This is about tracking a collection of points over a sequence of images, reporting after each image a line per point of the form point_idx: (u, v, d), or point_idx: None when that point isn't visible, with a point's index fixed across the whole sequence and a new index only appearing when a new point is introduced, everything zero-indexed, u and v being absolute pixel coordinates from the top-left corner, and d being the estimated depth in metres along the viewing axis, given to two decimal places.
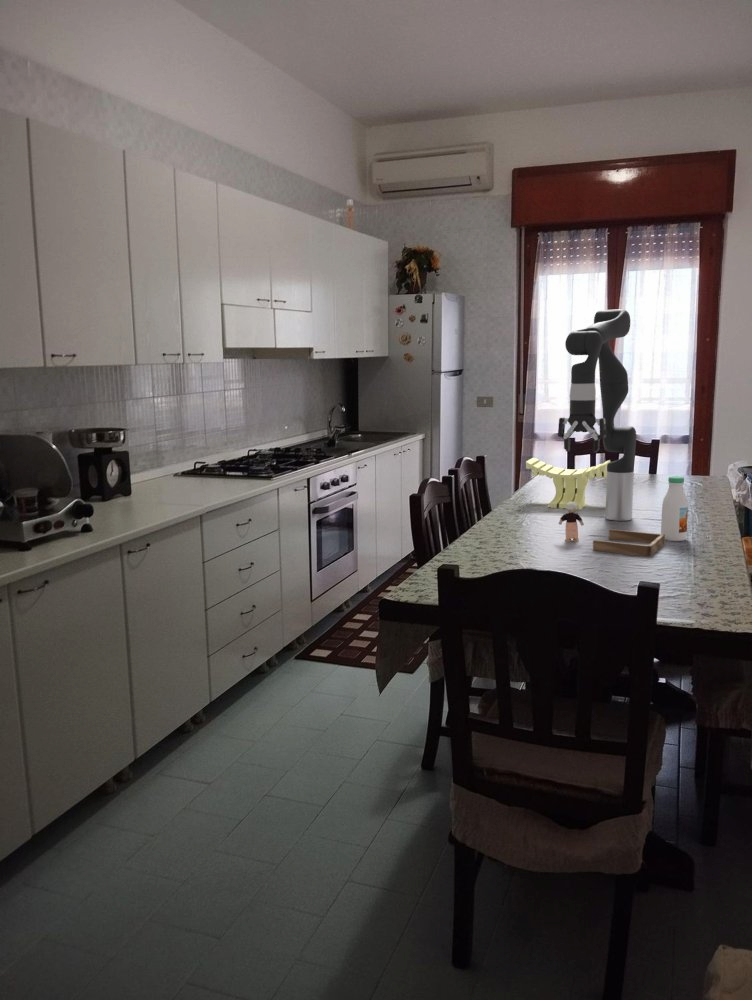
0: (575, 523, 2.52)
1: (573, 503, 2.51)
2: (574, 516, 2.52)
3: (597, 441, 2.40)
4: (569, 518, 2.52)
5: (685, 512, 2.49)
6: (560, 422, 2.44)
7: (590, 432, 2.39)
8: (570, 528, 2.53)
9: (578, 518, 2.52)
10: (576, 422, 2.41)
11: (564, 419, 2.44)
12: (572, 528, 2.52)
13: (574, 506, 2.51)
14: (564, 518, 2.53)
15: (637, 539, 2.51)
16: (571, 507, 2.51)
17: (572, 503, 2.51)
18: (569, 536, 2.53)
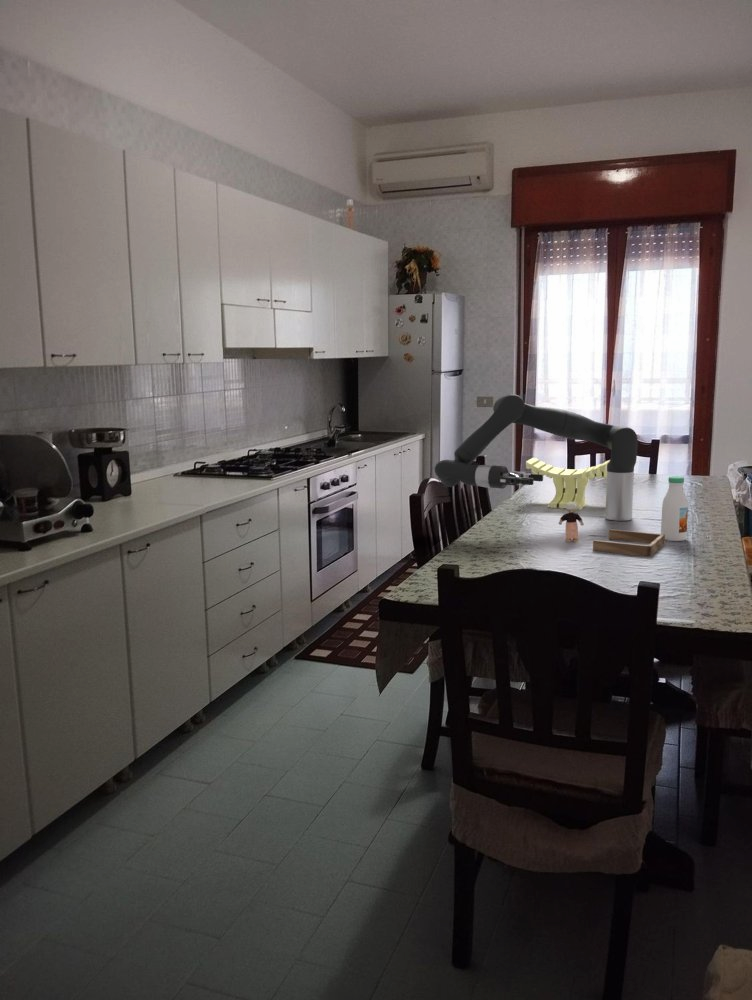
0: (575, 523, 2.52)
1: (573, 503, 2.51)
2: (574, 516, 2.52)
3: None
4: (569, 518, 2.52)
5: (685, 512, 2.49)
6: None
7: None
8: (570, 528, 2.53)
9: (578, 518, 2.52)
10: None
11: None
12: (572, 528, 2.52)
13: (574, 506, 2.51)
14: (564, 518, 2.53)
15: (637, 539, 2.51)
16: (571, 507, 2.51)
17: (572, 503, 2.51)
18: (569, 536, 2.53)
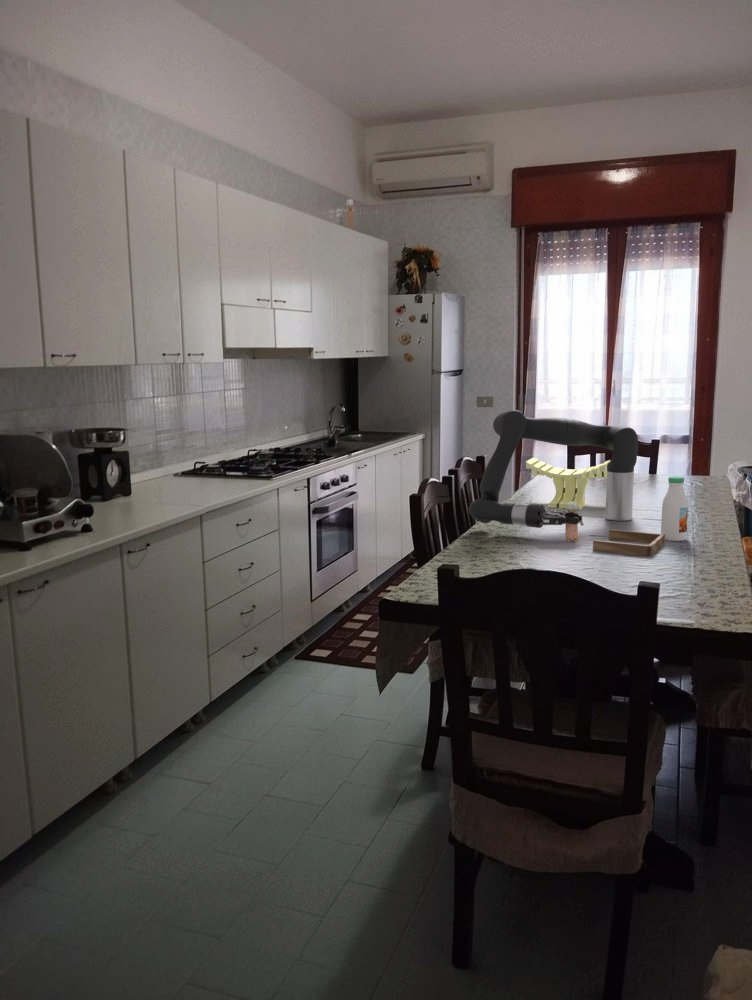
0: None
1: (573, 503, 2.51)
2: (574, 516, 2.52)
3: None
4: None
5: (685, 512, 2.49)
6: None
7: None
8: (569, 528, 2.53)
9: None
10: None
11: None
12: (572, 528, 2.52)
13: (574, 506, 2.51)
14: None
15: (637, 539, 2.51)
16: (570, 507, 2.51)
17: (572, 503, 2.51)
18: (569, 536, 2.53)
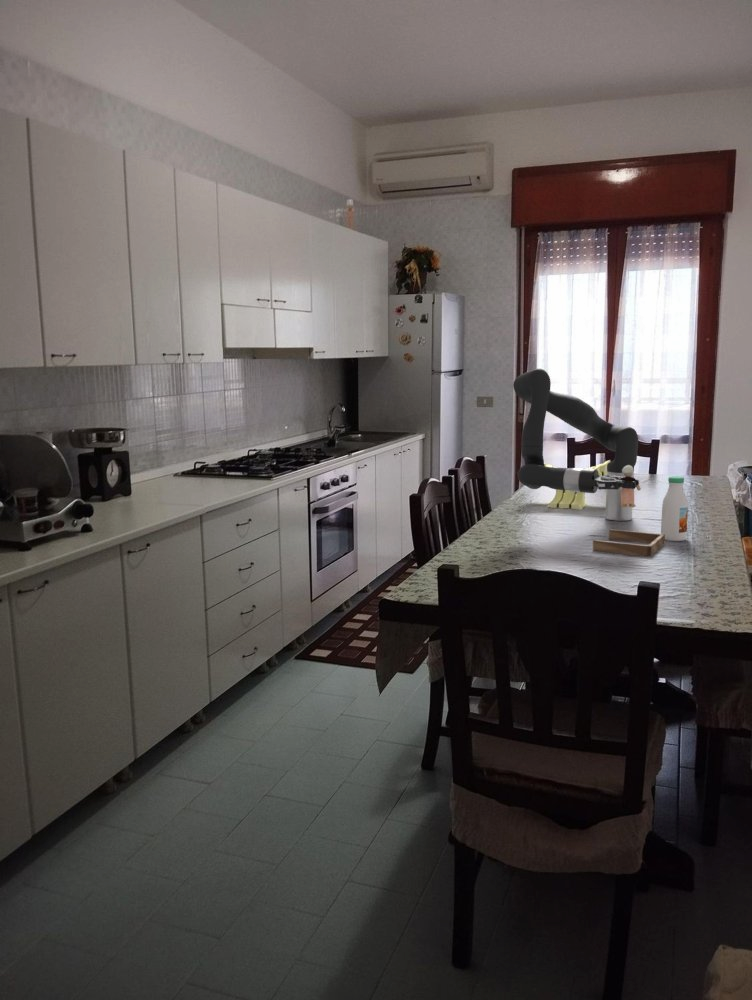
0: None
1: (630, 467, 2.40)
2: (630, 480, 2.40)
3: (623, 486, 2.40)
4: None
5: (685, 512, 2.49)
6: None
7: None
8: (625, 493, 2.41)
9: None
10: None
11: None
12: (628, 493, 2.41)
13: (631, 469, 2.39)
14: None
15: (637, 539, 2.51)
16: (627, 471, 2.39)
17: (629, 466, 2.40)
18: (624, 501, 2.42)
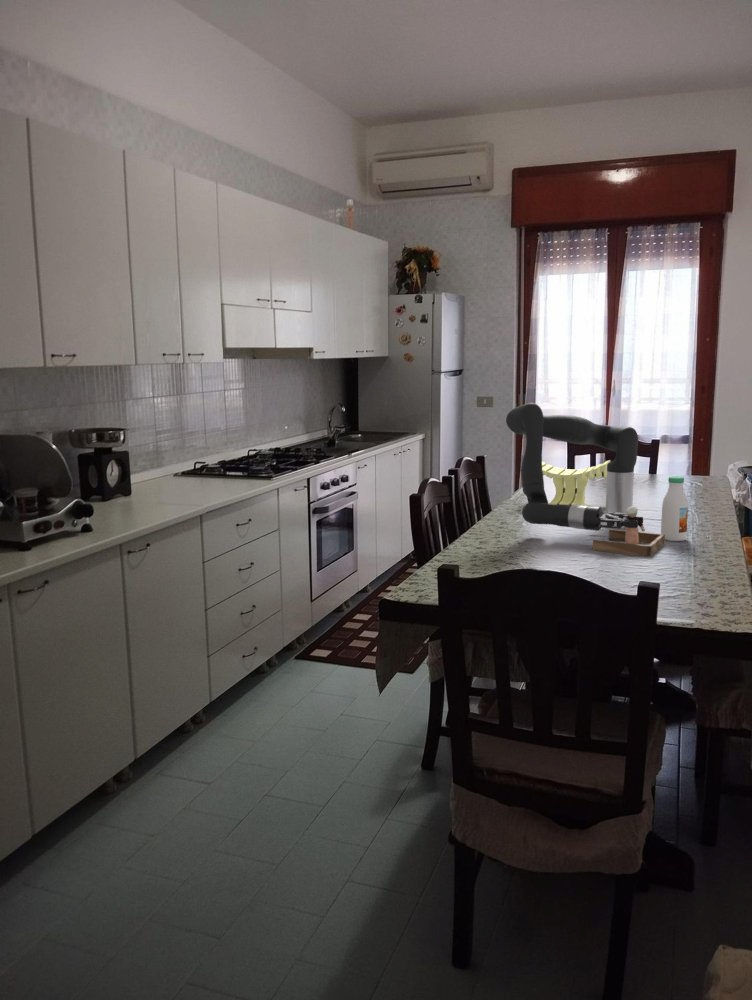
0: (636, 528, 2.43)
1: (634, 508, 2.42)
2: None
3: (625, 525, 2.40)
4: None
5: (685, 512, 2.49)
6: None
7: None
8: (630, 534, 2.43)
9: (639, 523, 2.42)
10: None
11: None
12: (632, 534, 2.43)
13: (635, 510, 2.41)
14: None
15: None
16: (631, 512, 2.41)
17: (633, 507, 2.42)
18: (629, 542, 2.43)
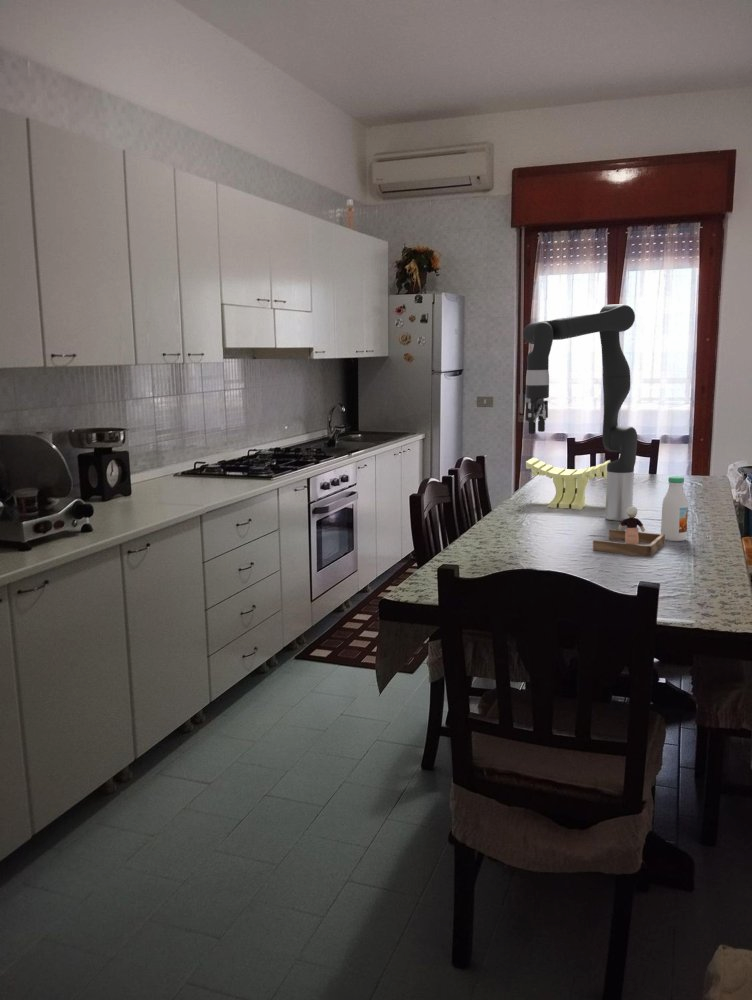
0: (635, 529, 2.42)
1: (634, 508, 2.42)
2: (634, 521, 2.42)
3: (529, 423, 2.61)
4: (629, 523, 2.42)
5: (685, 512, 2.49)
6: None
7: None
8: (629, 534, 2.43)
9: (639, 523, 2.42)
10: None
11: None
12: (632, 534, 2.43)
13: (634, 511, 2.41)
14: (624, 523, 2.43)
15: None
16: (631, 512, 2.41)
17: (633, 508, 2.42)
18: (629, 542, 2.43)
